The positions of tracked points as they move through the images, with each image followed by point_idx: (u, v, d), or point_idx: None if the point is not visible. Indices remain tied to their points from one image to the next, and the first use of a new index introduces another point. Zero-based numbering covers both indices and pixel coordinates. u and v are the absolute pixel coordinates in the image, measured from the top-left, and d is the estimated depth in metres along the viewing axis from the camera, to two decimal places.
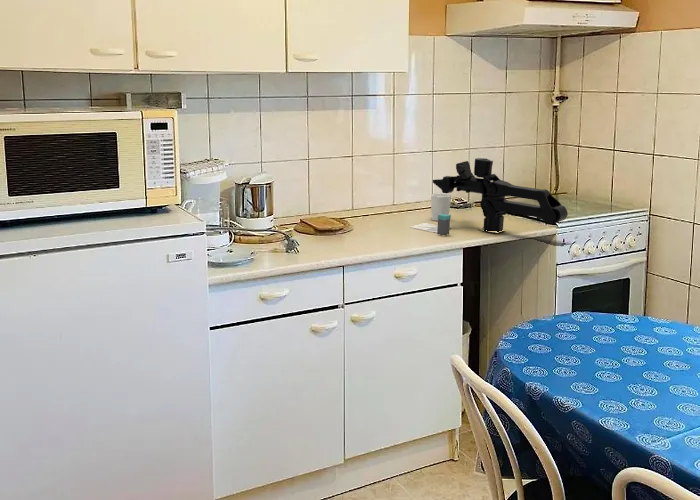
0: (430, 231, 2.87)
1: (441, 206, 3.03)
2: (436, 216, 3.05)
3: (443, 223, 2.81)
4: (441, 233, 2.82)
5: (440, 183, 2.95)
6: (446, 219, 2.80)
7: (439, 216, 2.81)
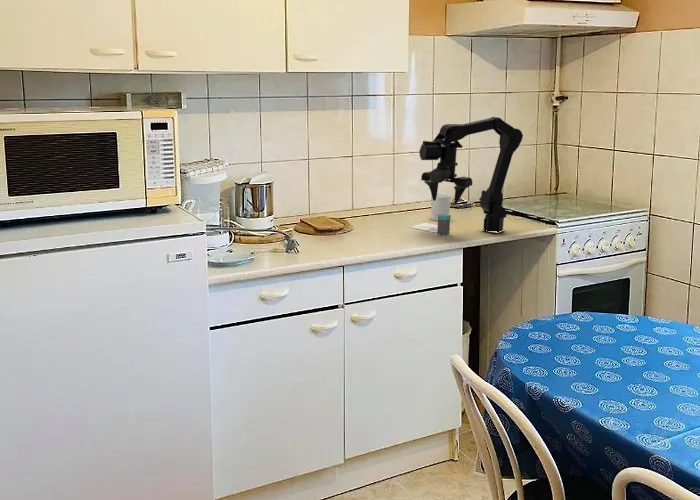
0: (430, 231, 2.87)
1: (441, 206, 3.03)
2: (436, 216, 3.05)
3: (443, 223, 2.81)
4: (441, 233, 2.82)
5: (459, 193, 2.76)
6: (446, 219, 2.80)
7: (439, 216, 2.81)
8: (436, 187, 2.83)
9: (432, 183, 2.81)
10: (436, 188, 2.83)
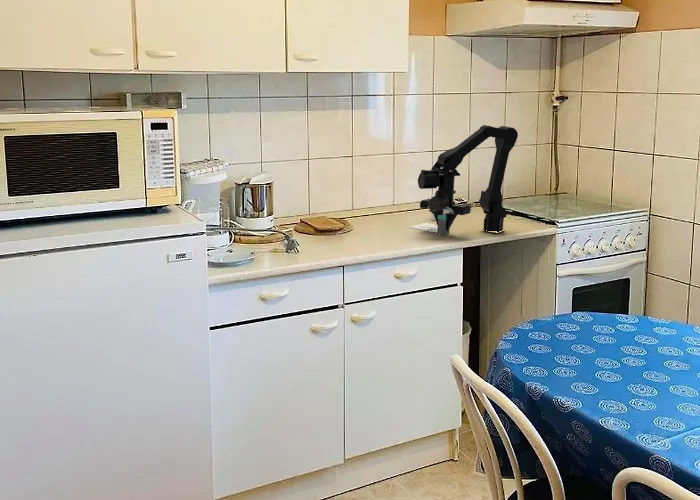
0: (430, 231, 2.87)
1: None
2: None
3: (443, 223, 2.81)
4: (441, 233, 2.82)
5: (451, 219, 2.81)
6: (446, 219, 2.80)
7: (439, 216, 2.81)
8: None
9: (437, 212, 2.82)
10: None
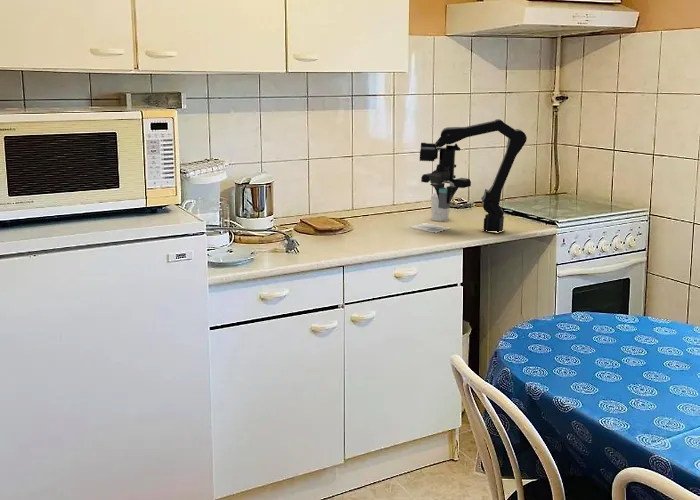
0: (430, 231, 2.87)
1: None
2: (436, 216, 3.05)
3: (444, 196, 2.87)
4: (442, 206, 2.89)
5: (452, 193, 2.87)
6: (447, 192, 2.87)
7: (440, 189, 2.88)
8: None
9: (438, 185, 2.88)
10: None
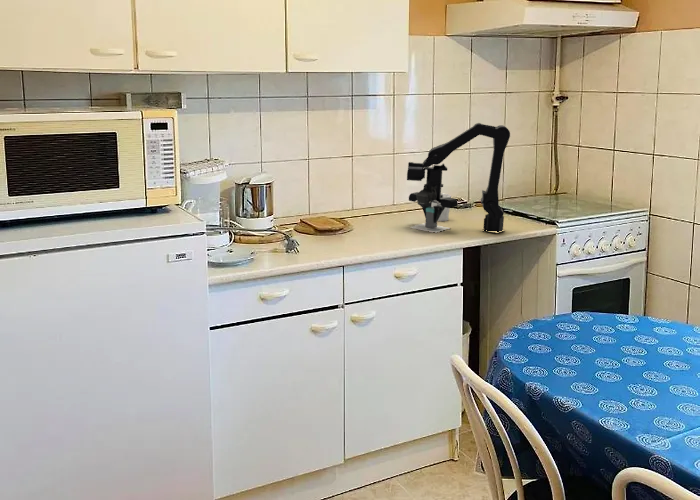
0: (430, 231, 2.87)
1: None
2: None
3: (431, 216, 2.90)
4: (429, 225, 2.91)
5: (439, 212, 2.90)
6: (434, 212, 2.89)
7: (427, 209, 2.90)
8: None
9: (425, 205, 2.91)
10: None
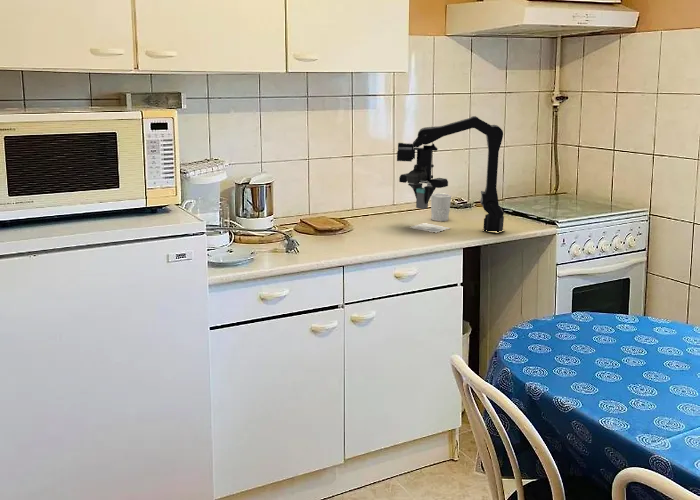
0: (430, 231, 2.87)
1: (441, 206, 3.03)
2: (436, 216, 3.05)
3: (422, 196, 2.88)
4: (420, 206, 2.89)
5: (429, 193, 2.88)
6: (424, 192, 2.87)
7: (418, 190, 2.88)
8: None
9: (416, 185, 2.89)
10: None
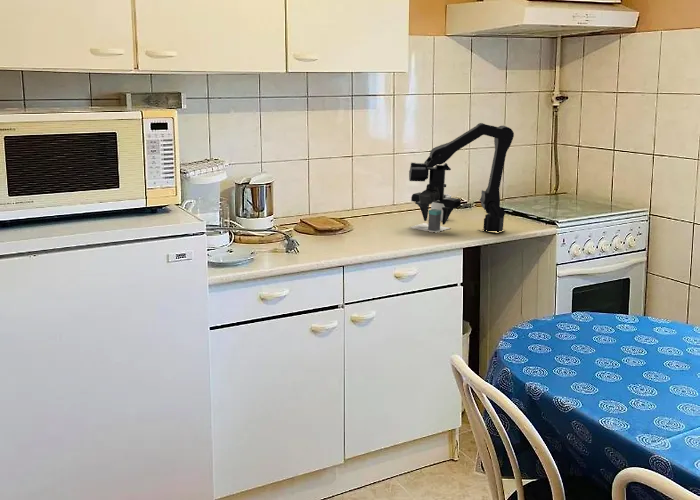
0: (430, 231, 2.87)
1: (441, 206, 3.03)
2: None
3: (434, 218, 2.86)
4: (432, 228, 2.88)
5: (447, 213, 2.85)
6: (437, 214, 2.86)
7: (430, 211, 2.87)
8: (427, 208, 2.91)
9: (423, 204, 2.89)
10: (427, 209, 2.91)
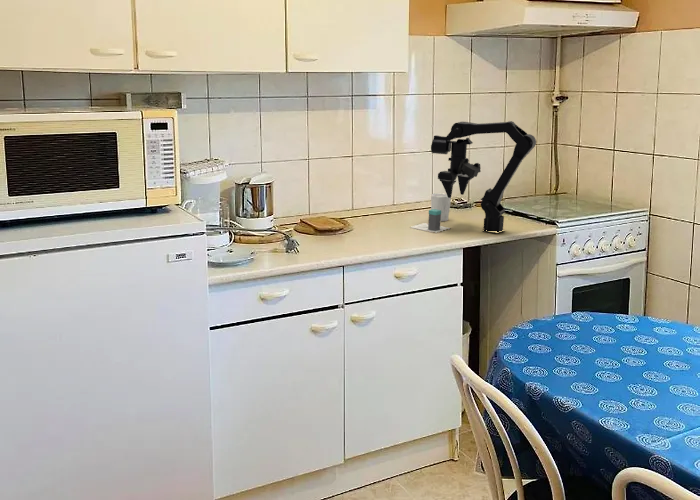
0: (430, 231, 2.87)
1: (441, 206, 3.03)
2: None
3: (434, 218, 2.86)
4: (432, 228, 2.88)
5: None
6: (437, 214, 2.86)
7: (430, 211, 2.87)
8: None
9: None
10: None
